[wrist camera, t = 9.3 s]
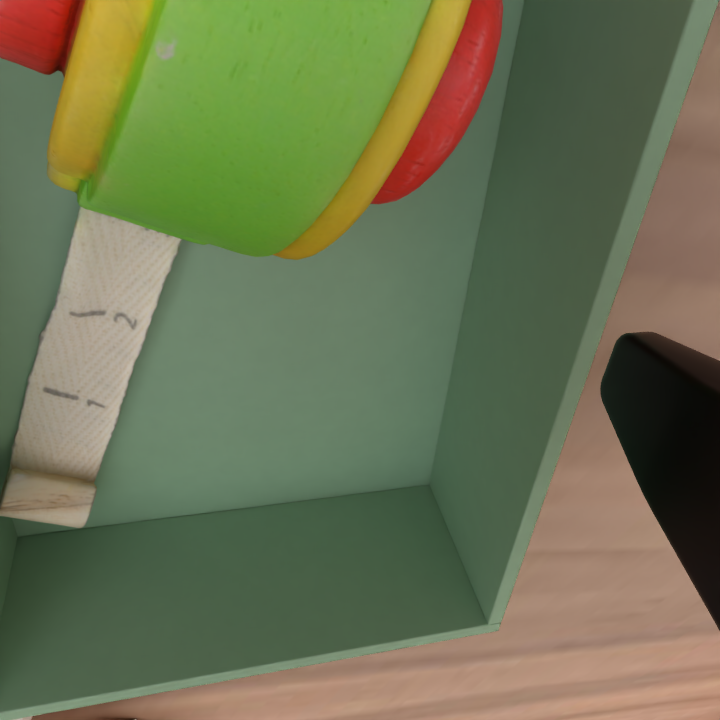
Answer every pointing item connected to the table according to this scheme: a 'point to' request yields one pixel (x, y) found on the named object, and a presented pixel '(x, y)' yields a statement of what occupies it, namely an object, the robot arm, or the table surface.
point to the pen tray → (339, 385)
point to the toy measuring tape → (214, 168)
